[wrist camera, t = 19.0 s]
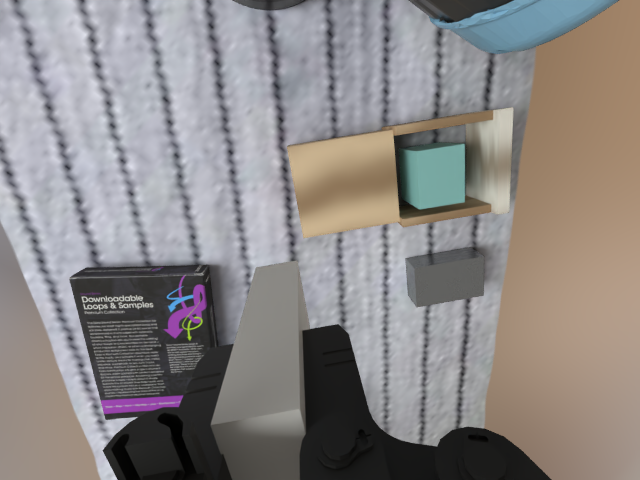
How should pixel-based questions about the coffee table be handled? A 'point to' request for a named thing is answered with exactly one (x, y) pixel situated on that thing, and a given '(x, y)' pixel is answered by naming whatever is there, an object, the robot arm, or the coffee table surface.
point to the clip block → (433, 174)
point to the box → (144, 332)
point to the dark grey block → (445, 276)
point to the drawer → (381, 181)
